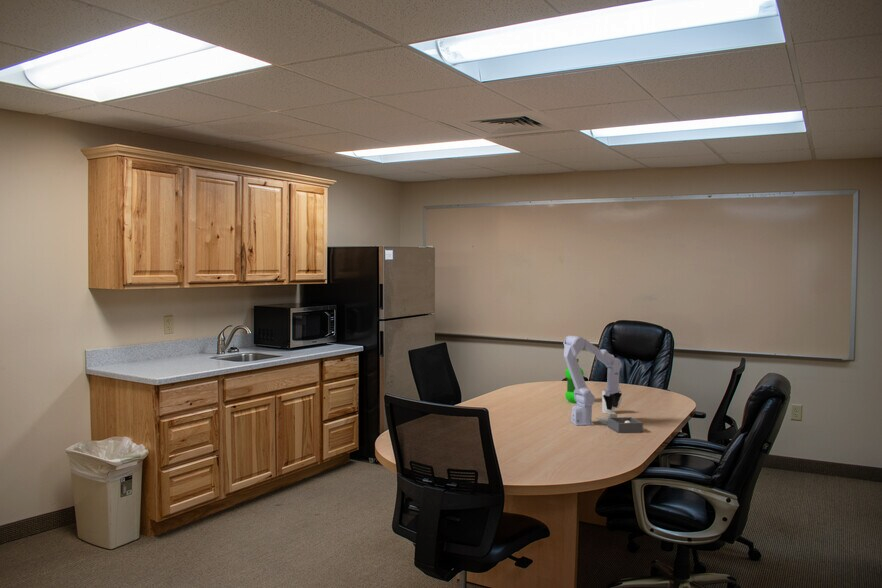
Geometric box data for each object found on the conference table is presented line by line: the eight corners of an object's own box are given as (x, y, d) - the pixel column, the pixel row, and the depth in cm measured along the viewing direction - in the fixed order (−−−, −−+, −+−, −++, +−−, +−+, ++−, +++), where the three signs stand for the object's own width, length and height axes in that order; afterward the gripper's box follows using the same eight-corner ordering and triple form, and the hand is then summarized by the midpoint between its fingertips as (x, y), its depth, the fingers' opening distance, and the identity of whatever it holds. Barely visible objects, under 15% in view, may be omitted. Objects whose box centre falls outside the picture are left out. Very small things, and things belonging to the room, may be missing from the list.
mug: (601, 413, 345) (602, 391, 344) (601, 411, 351) (601, 388, 351) (621, 414, 343) (622, 392, 342) (620, 412, 349) (621, 389, 349)
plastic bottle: (581, 400, 379) (582, 357, 378) (583, 404, 368) (584, 360, 367) (564, 400, 380) (565, 357, 379) (565, 403, 369) (566, 359, 368)
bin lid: (603, 425, 320) (603, 416, 320) (595, 419, 333) (595, 410, 333) (629, 425, 321) (629, 416, 321) (620, 419, 334) (620, 410, 334)
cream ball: (625, 428, 311) (626, 421, 311) (623, 426, 314) (623, 419, 314) (632, 427, 312) (632, 421, 311) (629, 426, 315) (629, 419, 315)
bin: (618, 433, 303) (618, 423, 303) (607, 426, 315) (608, 417, 315) (642, 432, 305) (642, 422, 305) (631, 426, 317) (631, 417, 317)
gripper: (615, 384, 318) (614, 411, 318) (625, 380, 330) (625, 407, 330) (601, 382, 322) (600, 409, 323) (612, 379, 334) (611, 405, 334)
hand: (612, 408), depth 327 cm, fingers open, 7 cm apart
